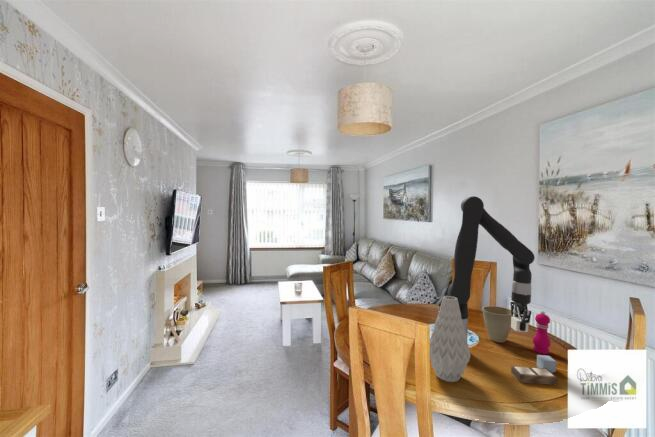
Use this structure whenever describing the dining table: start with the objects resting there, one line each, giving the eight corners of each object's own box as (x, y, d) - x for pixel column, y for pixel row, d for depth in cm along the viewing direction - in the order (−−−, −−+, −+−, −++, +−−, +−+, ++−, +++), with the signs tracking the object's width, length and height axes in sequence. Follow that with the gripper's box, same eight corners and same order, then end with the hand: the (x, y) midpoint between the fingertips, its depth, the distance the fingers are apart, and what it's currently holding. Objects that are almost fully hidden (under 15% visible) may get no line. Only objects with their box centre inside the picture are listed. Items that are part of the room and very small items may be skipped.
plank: (519, 382, 123) (519, 374, 123) (511, 372, 130) (511, 365, 130) (556, 384, 122) (557, 377, 122) (546, 375, 129) (546, 368, 129)
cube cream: (516, 331, 139) (516, 320, 139) (510, 327, 144) (511, 316, 144) (527, 332, 139) (528, 321, 138) (522, 327, 144) (522, 317, 143)
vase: (430, 362, 138) (433, 289, 137) (471, 372, 130) (474, 295, 129) (421, 379, 124) (424, 299, 123) (466, 393, 115) (469, 306, 114)
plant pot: (502, 334, 171) (503, 305, 171) (519, 346, 157) (521, 315, 156) (476, 333, 171) (477, 305, 170) (491, 345, 156) (492, 314, 156)
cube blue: (543, 371, 132) (543, 360, 132) (536, 365, 137) (537, 354, 137) (555, 372, 131) (556, 361, 131) (548, 366, 136) (549, 355, 136)
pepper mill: (545, 355, 146) (546, 314, 146) (529, 349, 153) (530, 309, 152) (553, 352, 150) (555, 312, 149) (537, 346, 156) (539, 307, 155)
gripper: (505, 287, 148) (503, 321, 149) (520, 295, 134) (518, 334, 135) (521, 288, 147) (519, 323, 148) (539, 296, 133) (536, 335, 134)
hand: (519, 328), depth 141 cm, fingers closed on cube cream, 5 cm apart
